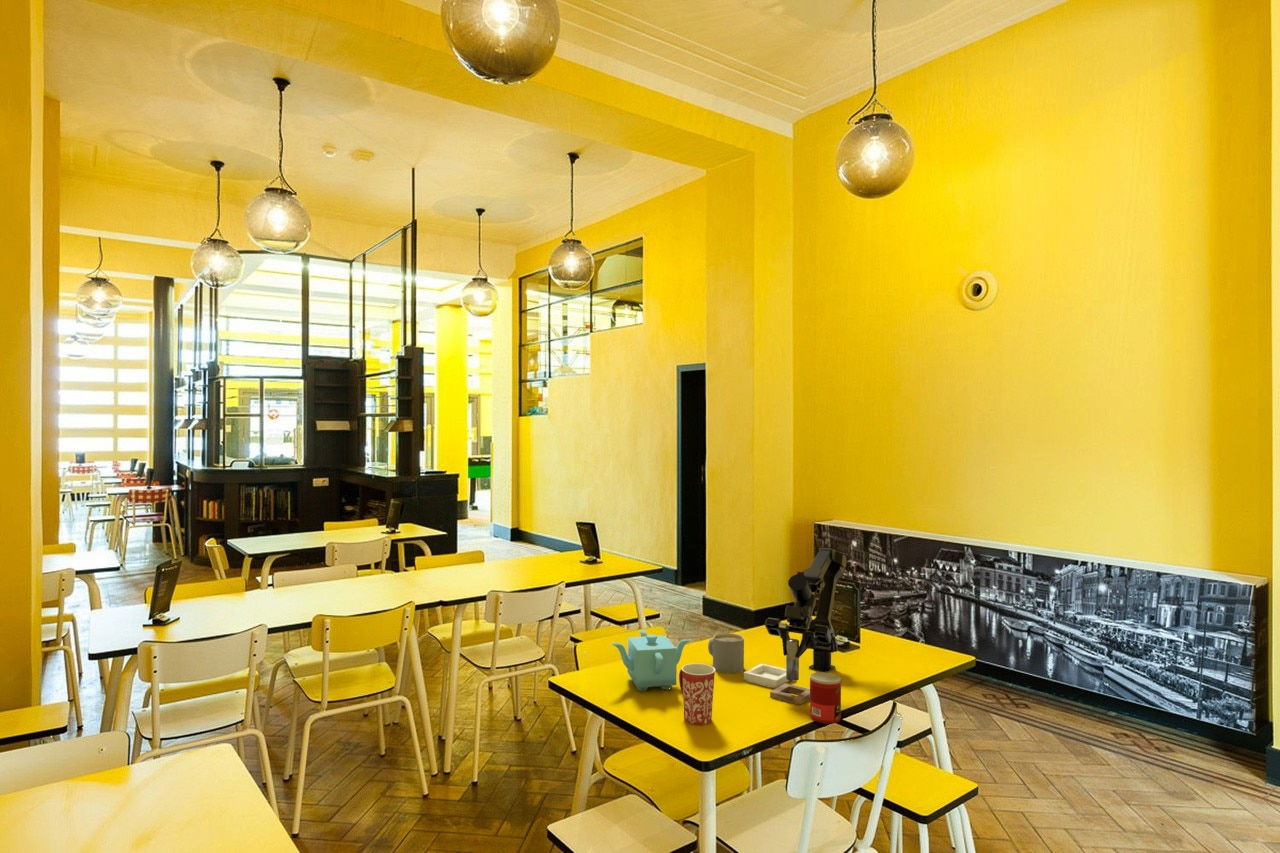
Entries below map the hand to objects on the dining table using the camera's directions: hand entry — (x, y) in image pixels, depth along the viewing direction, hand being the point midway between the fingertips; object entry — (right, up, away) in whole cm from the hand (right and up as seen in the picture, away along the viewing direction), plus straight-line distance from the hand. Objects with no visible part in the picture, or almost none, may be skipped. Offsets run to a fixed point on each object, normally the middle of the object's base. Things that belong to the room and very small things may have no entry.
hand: (791, 656), depth 201 cm
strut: (+1, -7, +1) cm, 7 cm away
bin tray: (-4, -12, +15) cm, 20 cm away
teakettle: (-40, -12, +11) cm, 43 cm away
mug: (-29, -12, -15) cm, 35 cm away
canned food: (+6, -12, -15) cm, 20 cm away
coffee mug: (-16, -13, +27) cm, 34 cm away
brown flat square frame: (+1, -12, +1) cm, 12 cm away
